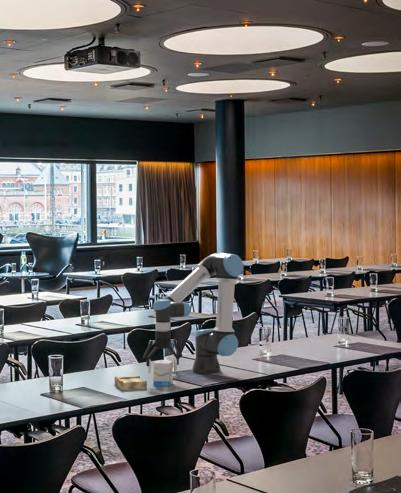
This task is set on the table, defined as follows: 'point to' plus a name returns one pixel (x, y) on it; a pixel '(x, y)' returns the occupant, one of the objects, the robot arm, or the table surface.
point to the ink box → (162, 373)
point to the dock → (130, 383)
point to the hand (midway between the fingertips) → (162, 372)
